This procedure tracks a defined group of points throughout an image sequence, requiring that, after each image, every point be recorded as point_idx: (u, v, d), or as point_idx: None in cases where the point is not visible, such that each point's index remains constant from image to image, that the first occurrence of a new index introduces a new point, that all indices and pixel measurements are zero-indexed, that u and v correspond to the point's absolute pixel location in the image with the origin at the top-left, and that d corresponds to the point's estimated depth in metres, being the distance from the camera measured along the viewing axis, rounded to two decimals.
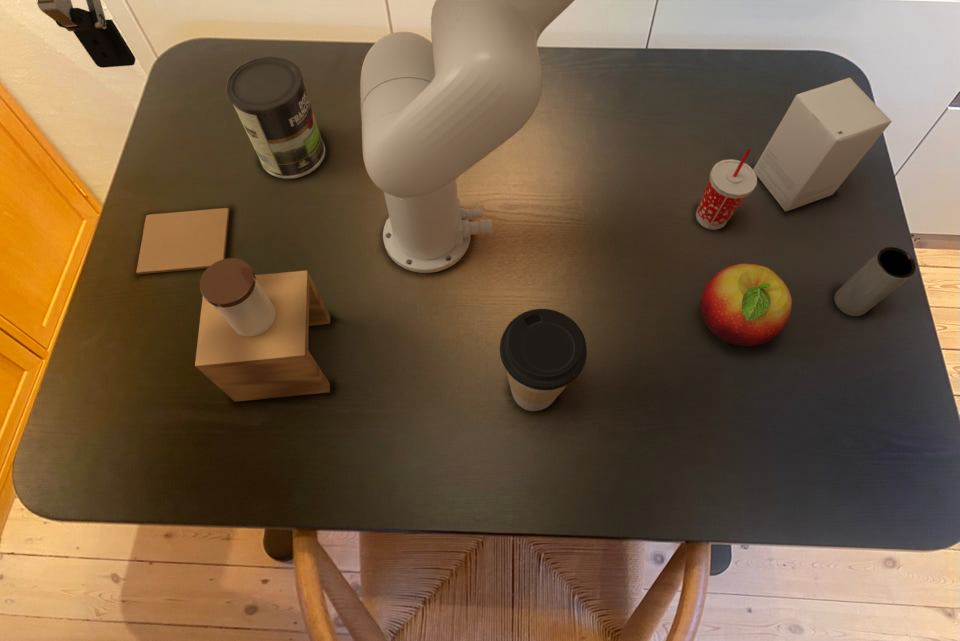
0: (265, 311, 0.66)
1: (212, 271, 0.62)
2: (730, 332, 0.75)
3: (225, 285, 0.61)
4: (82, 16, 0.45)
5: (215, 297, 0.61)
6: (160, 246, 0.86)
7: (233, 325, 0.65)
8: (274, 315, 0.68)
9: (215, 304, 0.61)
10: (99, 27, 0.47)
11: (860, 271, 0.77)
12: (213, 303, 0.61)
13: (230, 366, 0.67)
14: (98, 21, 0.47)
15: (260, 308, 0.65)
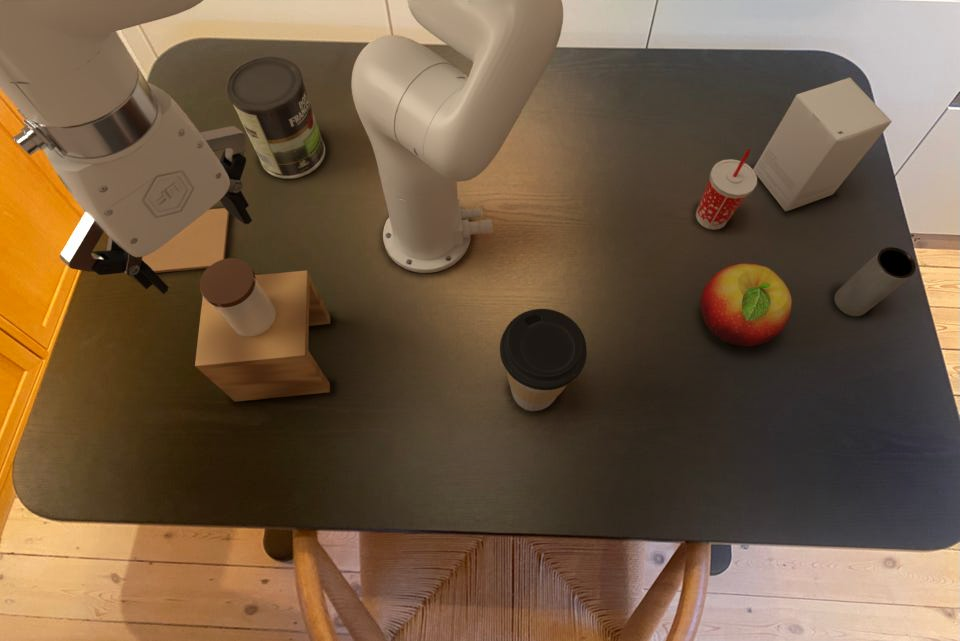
0: (265, 311, 0.66)
1: (212, 271, 0.62)
2: (730, 332, 0.75)
3: (225, 285, 0.61)
4: (105, 269, 0.48)
5: (215, 297, 0.61)
6: None
7: (233, 325, 0.65)
8: (274, 315, 0.68)
9: (215, 304, 0.61)
10: None
11: (860, 271, 0.77)
12: (213, 303, 0.61)
13: (230, 366, 0.67)
14: (126, 271, 0.49)
15: (260, 308, 0.65)
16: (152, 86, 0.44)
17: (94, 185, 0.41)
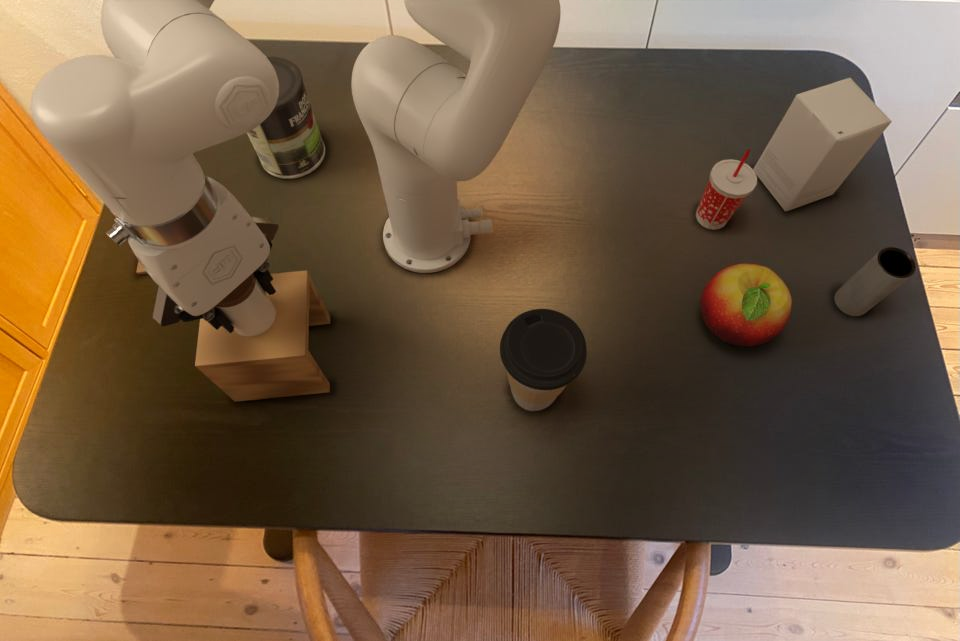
0: (265, 311, 0.66)
1: None
2: (730, 332, 0.75)
3: None
4: (189, 317, 0.59)
5: None
6: None
7: (233, 325, 0.65)
8: (274, 315, 0.68)
9: None
10: (206, 319, 0.61)
11: (860, 271, 0.77)
12: None
13: (230, 366, 0.67)
14: (204, 319, 0.60)
15: (260, 308, 0.65)
16: (211, 180, 0.53)
17: (167, 265, 0.51)
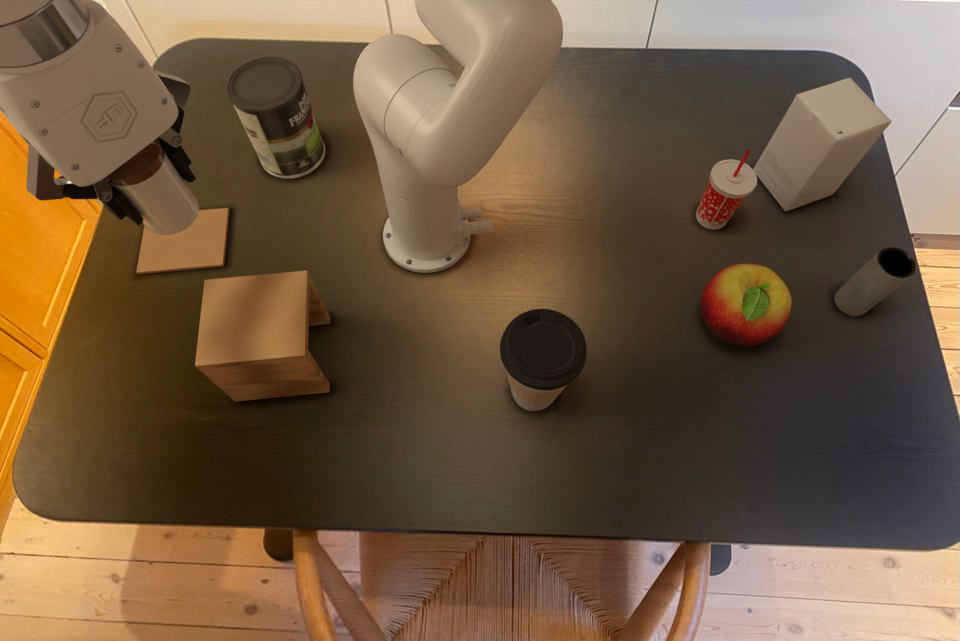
0: (183, 201, 0.54)
1: None
2: (730, 332, 0.75)
3: None
4: (76, 193, 0.47)
5: (112, 172, 0.49)
6: (160, 246, 0.86)
7: (143, 217, 0.54)
8: (196, 210, 0.57)
9: (112, 181, 0.49)
10: (102, 200, 0.49)
11: (860, 271, 0.77)
12: (110, 180, 0.49)
13: (230, 366, 0.67)
14: (98, 199, 0.49)
15: (175, 195, 0.53)
16: None
17: (25, 99, 0.39)
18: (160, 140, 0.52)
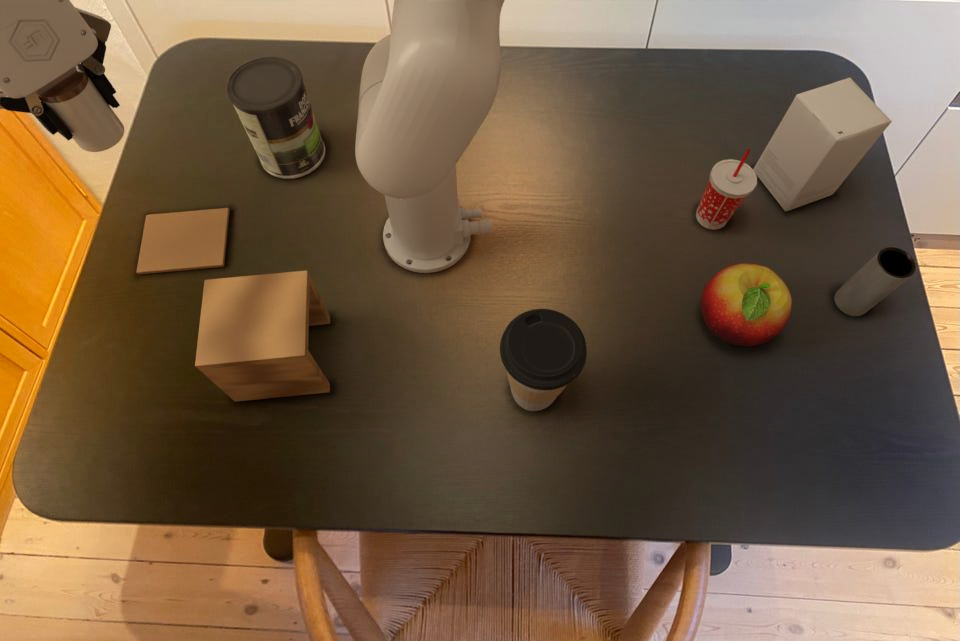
0: (107, 122, 0.66)
1: None
2: (730, 332, 0.75)
3: (54, 81, 0.61)
4: (11, 105, 0.59)
5: (43, 91, 0.60)
6: (160, 246, 0.86)
7: (73, 134, 0.65)
8: (121, 132, 0.68)
9: (43, 98, 0.60)
10: (34, 114, 0.61)
11: (860, 271, 0.77)
12: (40, 97, 0.60)
13: (230, 366, 0.67)
14: (31, 112, 0.60)
15: (99, 116, 0.64)
16: None
17: None
18: (86, 69, 0.63)
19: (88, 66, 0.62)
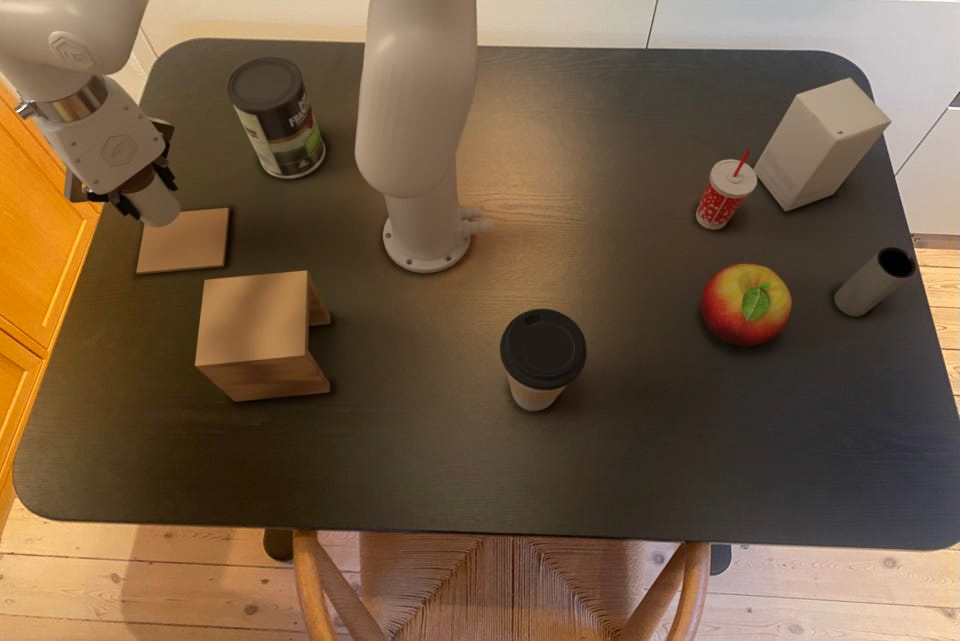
0: (168, 204, 0.78)
1: None
2: (730, 332, 0.75)
3: None
4: (96, 198, 0.71)
5: None
6: (160, 246, 0.86)
7: (140, 214, 0.78)
8: (178, 210, 0.81)
9: (119, 190, 0.73)
10: (112, 203, 0.73)
11: (860, 271, 0.77)
12: (118, 189, 0.73)
13: (230, 366, 0.67)
14: (110, 202, 0.73)
15: (162, 200, 0.77)
16: (106, 76, 0.65)
17: (67, 141, 0.63)
18: (153, 163, 0.76)
19: (156, 162, 0.75)
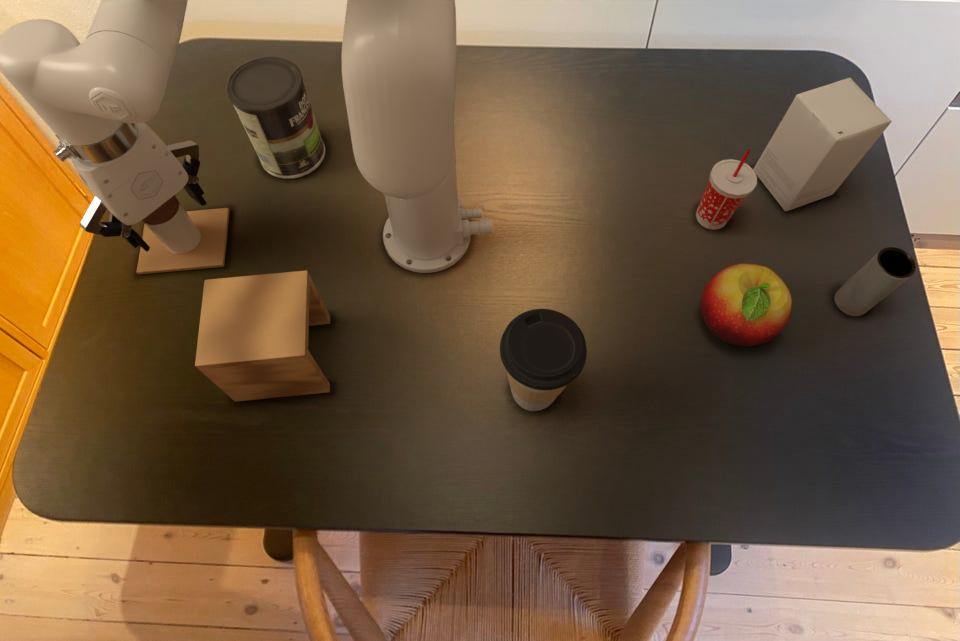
0: (190, 232, 0.84)
1: None
2: (730, 332, 0.75)
3: None
4: (108, 233, 0.75)
5: None
6: (160, 246, 0.86)
7: (164, 243, 0.84)
8: (199, 238, 0.87)
9: (146, 222, 0.79)
10: (122, 236, 0.77)
11: (860, 271, 0.77)
12: (145, 221, 0.79)
13: (230, 366, 0.67)
14: (121, 235, 0.77)
15: (185, 229, 0.83)
16: None
17: (100, 179, 0.69)
18: None
19: (187, 179, 0.80)
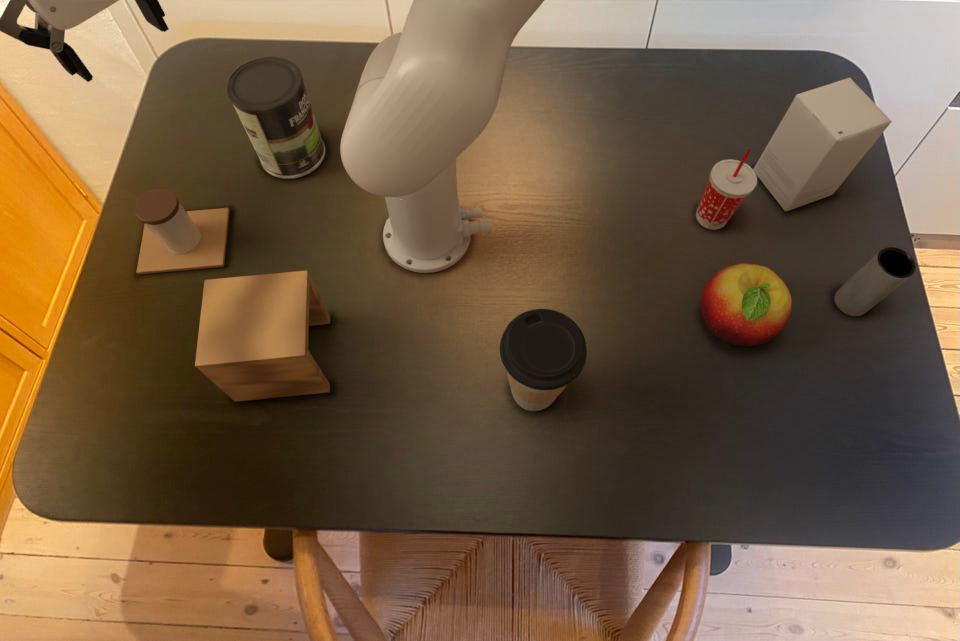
0: (190, 232, 0.84)
1: (145, 198, 0.80)
2: (730, 332, 0.75)
3: (154, 207, 0.80)
4: (31, 39, 0.57)
5: (146, 216, 0.79)
6: (160, 246, 0.86)
7: (164, 243, 0.84)
8: (199, 238, 0.87)
9: (146, 222, 0.79)
10: (51, 50, 0.58)
11: (860, 271, 0.77)
12: (145, 221, 0.79)
13: (230, 366, 0.67)
14: (50, 46, 0.58)
15: (185, 229, 0.83)
16: None
17: None
18: None
19: None
